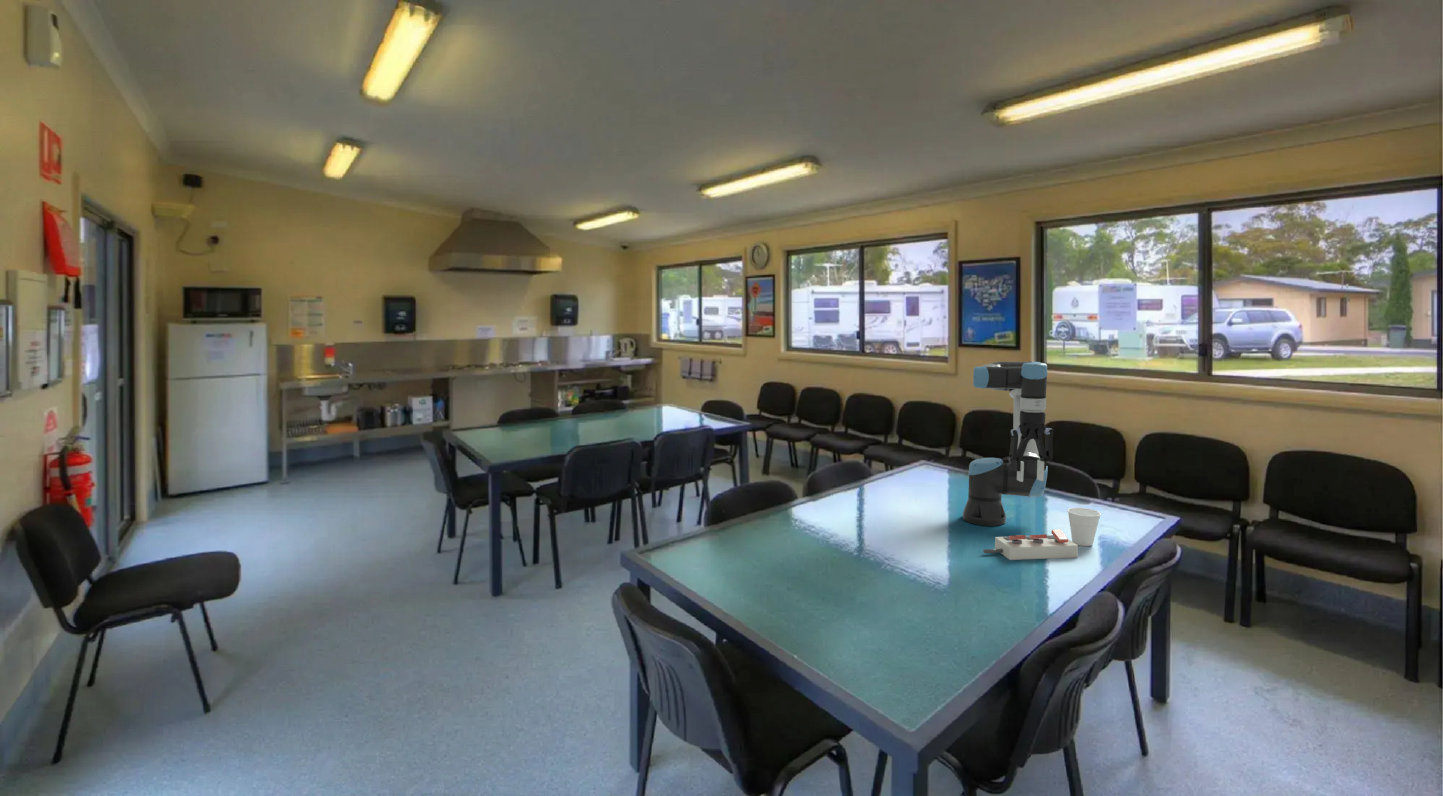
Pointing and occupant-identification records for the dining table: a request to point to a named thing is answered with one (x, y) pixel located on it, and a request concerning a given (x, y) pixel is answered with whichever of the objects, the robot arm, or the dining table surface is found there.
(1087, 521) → the cup
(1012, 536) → the rocker
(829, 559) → the dining table surface
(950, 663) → the dining table surface
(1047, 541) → the strip
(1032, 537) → the rocker
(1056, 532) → the rocker
